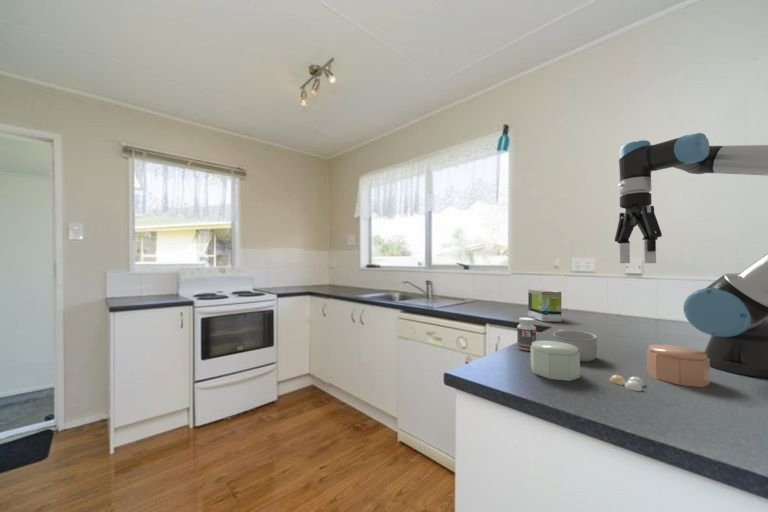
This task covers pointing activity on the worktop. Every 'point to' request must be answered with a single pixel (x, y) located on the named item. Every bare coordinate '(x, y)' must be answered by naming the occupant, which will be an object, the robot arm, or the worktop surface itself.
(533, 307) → the tea box
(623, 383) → the marble amber
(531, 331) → the pill bottle
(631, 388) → the marble cream
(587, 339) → the teacup
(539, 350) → the sage acorn nut
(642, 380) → the marble bluegrey
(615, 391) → the worktop surface
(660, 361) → the peach acorn nut
